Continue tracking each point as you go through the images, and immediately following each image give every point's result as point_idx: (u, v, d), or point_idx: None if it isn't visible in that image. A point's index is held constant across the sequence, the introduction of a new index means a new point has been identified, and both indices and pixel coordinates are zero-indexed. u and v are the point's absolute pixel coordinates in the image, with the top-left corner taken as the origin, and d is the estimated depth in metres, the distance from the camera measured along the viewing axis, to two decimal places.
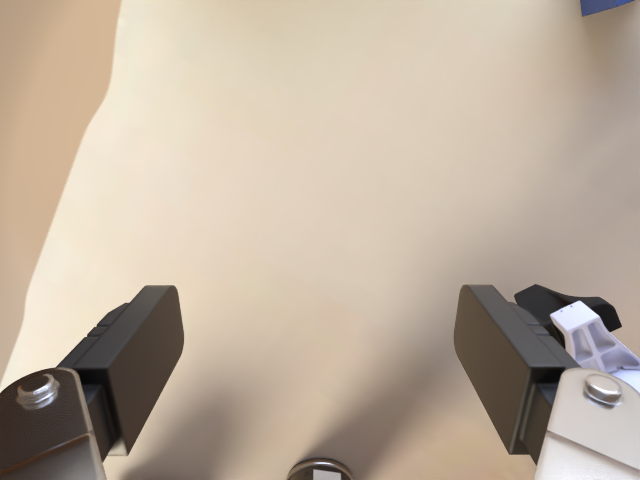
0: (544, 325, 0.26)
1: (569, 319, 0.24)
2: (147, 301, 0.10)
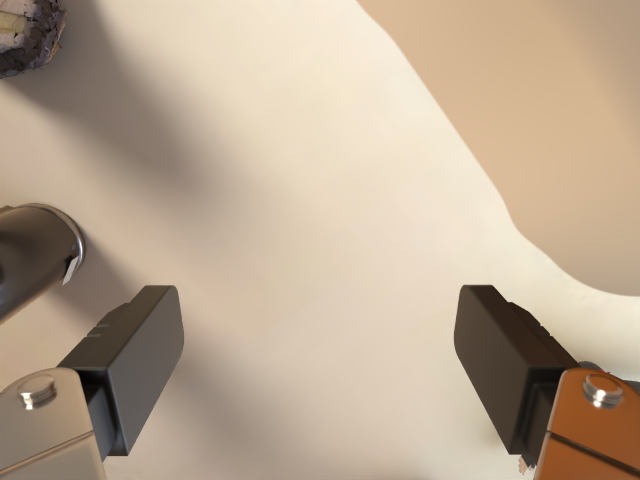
0: None
1: None
2: (147, 301, 0.10)
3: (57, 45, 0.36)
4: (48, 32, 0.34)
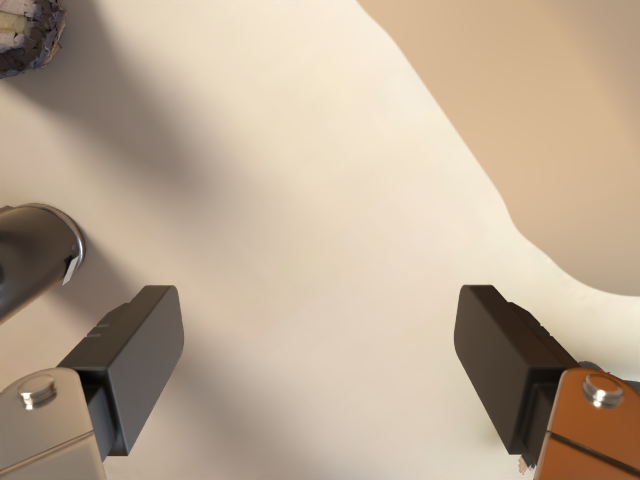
0: None
1: None
2: (147, 301, 0.10)
3: (57, 45, 0.36)
4: (48, 32, 0.34)
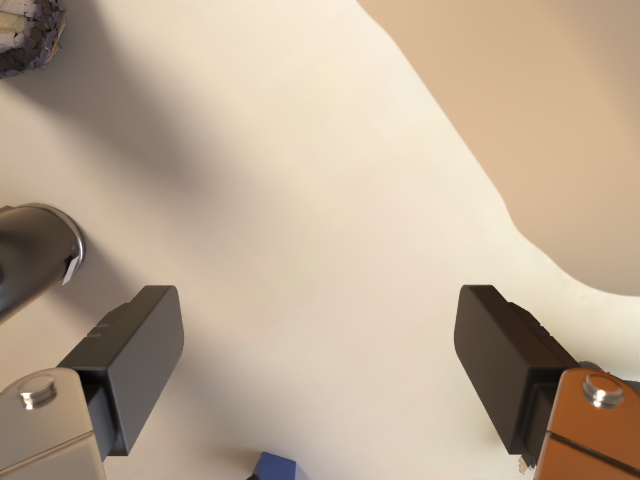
0: None
1: None
2: (147, 301, 0.10)
3: (57, 45, 0.36)
4: (48, 32, 0.34)
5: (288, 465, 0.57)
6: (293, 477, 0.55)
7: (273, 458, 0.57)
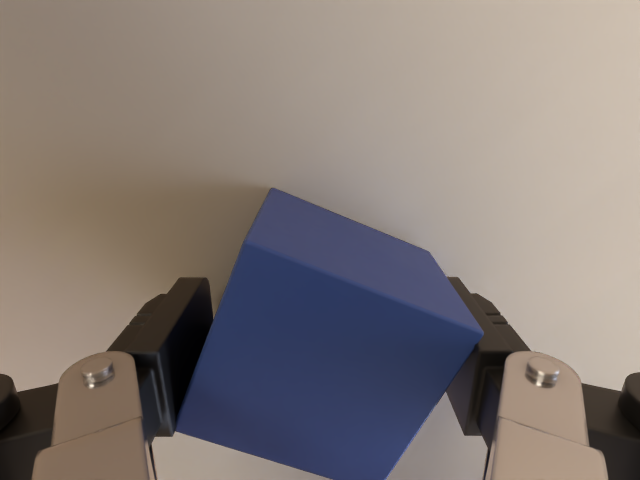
0: None
1: None
2: (184, 292, 0.10)
3: None
4: None
5: (403, 250, 0.11)
6: (450, 289, 0.09)
7: (324, 214, 0.11)
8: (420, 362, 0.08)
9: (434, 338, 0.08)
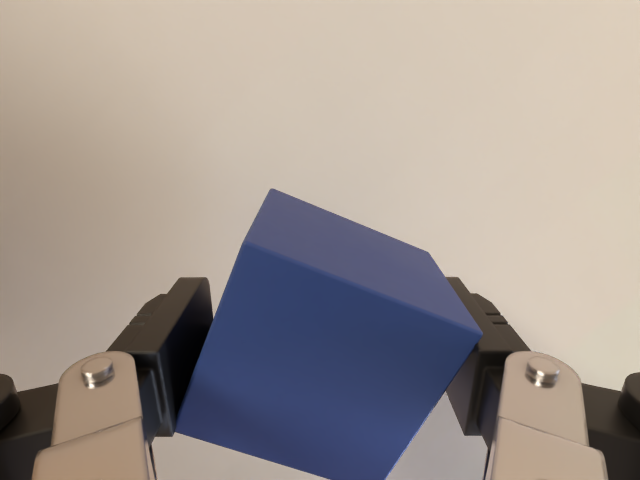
0: None
1: None
2: (184, 292, 0.10)
3: None
4: None
5: (403, 251, 0.11)
6: (449, 290, 0.09)
7: (324, 215, 0.11)
8: (419, 363, 0.08)
9: (433, 339, 0.08)
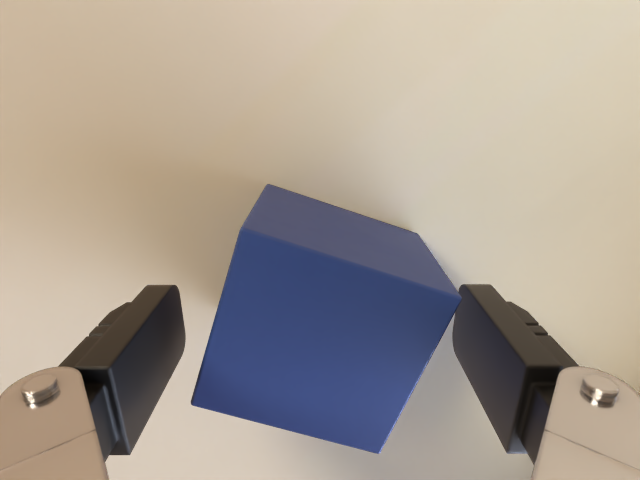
0: None
1: None
2: (149, 301, 0.10)
3: None
4: None
5: (392, 233, 0.12)
6: (434, 264, 0.10)
7: (317, 204, 0.12)
8: (406, 328, 0.09)
9: (417, 305, 0.09)
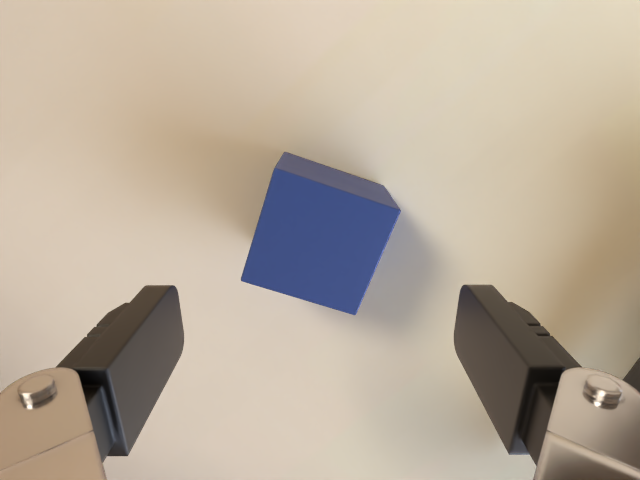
0: None
1: None
2: (147, 301, 0.10)
3: None
4: None
5: (365, 182, 0.18)
6: (389, 197, 0.17)
7: (317, 164, 0.18)
8: (369, 229, 0.15)
9: (374, 215, 0.15)
